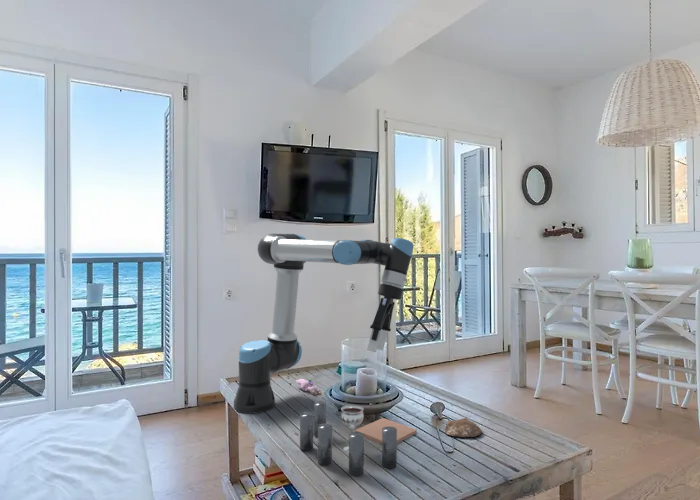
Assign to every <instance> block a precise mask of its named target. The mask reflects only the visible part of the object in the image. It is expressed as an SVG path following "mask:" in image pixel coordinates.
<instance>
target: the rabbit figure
mask: <svg viewBox="0 0 700 500" xmlns="http://www.w3.org/2000/svg"><path fill="white" fill-rule="evenodd" d="M295 382H296V383H297V384H298V385H299V386H300V389H301V390H303V391H304V392H310V395H312V396H317V395H318V394H320V395H322V390H320V389H319V387H318V386H316V385H314V382H313V381H312V379H311V378H309V379H308V380H306V379H304V378H299V379H296V380H295Z"/></svg>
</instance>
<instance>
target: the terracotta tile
mask: <svg viewBox="0 0 700 500" xmlns="http://www.w3.org/2000/svg"><path fill="white" fill-rule="evenodd" d="M388 426H389V427H395V428H396V429H397V444H398V443H400V442H402V441H404V440H406V439H408V438H409V437H411V436H413V435H416V434H417V429H416V428H413V427H410V426H407V425H404V424H401V423H399V422H395V421H393V420H389V419H387V418H384V417H382V418H379V419H378V420H377V419H376V420H375V421H373V422H370V423H368V424H366V425H364V426H361V427H359V428H356V429H355V430H354V432H361V433H363V434H364V438H367V439H370V440H371V441H373V442H376V443H379V444H381V445H382V429H383V428H384V427H388Z"/></svg>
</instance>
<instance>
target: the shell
mask: <svg viewBox="0 0 700 500" xmlns="http://www.w3.org/2000/svg"><path fill="white" fill-rule="evenodd" d="M445 435H446V436H447V437H449V438H454V439H461V440H463V439H464V440H465V439H469V440H470V439H477V438H481V437H482V435H483V432H482V429H481V428H480V427H479V425H477V423H475V422H474V421H472V420H470V419H469V418H467V417H462V418H460V419H457V420H456V419H455V420H447V423H446V426H445Z"/></svg>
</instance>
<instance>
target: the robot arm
mask: <svg viewBox="0 0 700 500" xmlns="http://www.w3.org/2000/svg"><path fill="white" fill-rule="evenodd" d="M414 247H415V246H414V243H413V242H412V241H410V240H409V239H405V238H402V237H401V238H400V237H393V238H392V239H391V242H390V243H387V242H382V241H376V240H372V239H361V240H350V239H344V240H343V239H342V240H339V239H307V238H306V237H304V236H303V235H301V234H295V233H269V234H267V235H264V236H263V237H261V239H260V240H259V242H258V244H257V253H258V256H259V258H260V259H261V260H262V261H263V262H264V263H266V264H269V265H273V268H274V269H275V271H276V281H275V292H274V293H275V294H274V302H273V303H274V307H273V315H272V316H273V318H272V329H271V331H270V333H268V334H267V340H265V339H262V340H261V339H259V340H258V339H257V340H252V341H251V340H250V341H248V342H245V343H243V344H242V345H241V346H240V348H239V350H238V387H237V390H236V393H235V396H234V398H233V409H234V410H235V411H236V412H240V413H244V414H254V413H253V412H258V413H263V412H262V411H264V412H267V411H269V410H271V409H273V408H274V407H276V397H275V394H274V391H273V388H272V384H271V376H272V375H271V374H274V373H278V372H281V371H284V370H288V369H289V370H290V369H291V368H293V367H294V366H296V365H297V364H298V363H299V362H300V361H301V358H302V353H303V347H302V346H301V342H300V341H299V340H298V336H297V335H296V333H295V323H296V322H295V320H296V312H297V301H298V300H297V299H298V291H299V290H298V289H299V278H300V273H301V272H302V271H304V265H305V263H307V262H309V263H310V262H312V263H326V264H340V265H345V266H351V265H362V264H363V265H364V264H365V265H366V264H373V265H374V264H375V265H379V266H384V269H383V273H382V276H381V282H382V283H381V284H379V288H378V291H377V292H378V295H379V296H382V297H381V298H380V301H379V304H378V307H377V310H376V313H375V316H374V319H373V321H372V323H371V325H370V327H369V329H371V334H370V337H369V340H368V345H367V348H366V351H369V352H373V353H377V350H380V351H384V348H385V344H386V342H387V341H386V340H387V337H388V332H391V330H392V329H391V323H392V318H393V310H394V307H395V301H394V300H397V301H399V300H401V299H402V296H403V292H404V290H403V288H405V287H404V286H405V283H406V282H408V278H407V275H408V271H409V266H410V263H411V260H412V257H413V252H414ZM266 410H267V411H266ZM250 412H252V413H250Z"/></svg>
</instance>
